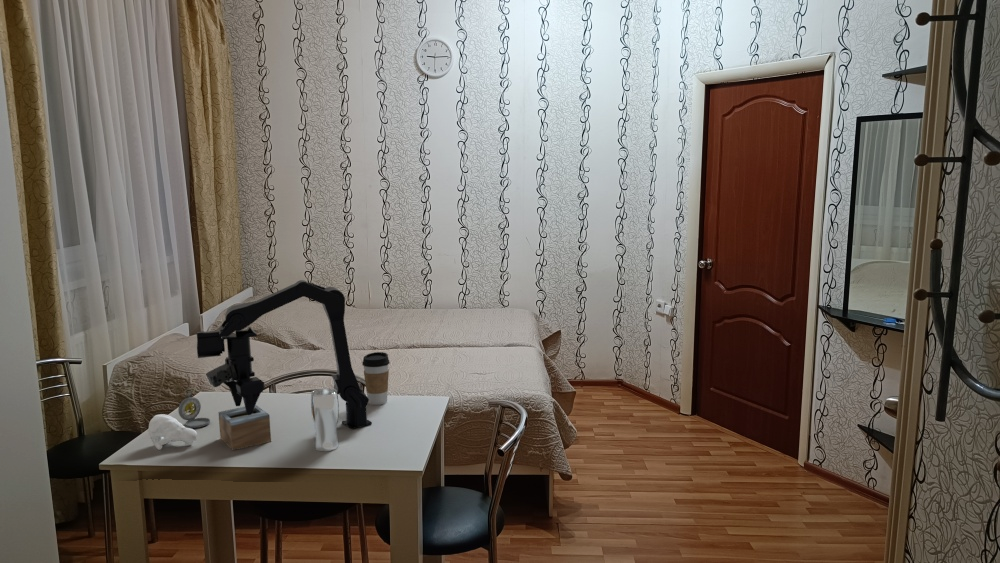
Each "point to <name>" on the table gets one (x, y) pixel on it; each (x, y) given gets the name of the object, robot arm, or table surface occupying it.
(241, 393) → the robot arm
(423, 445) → the table surface
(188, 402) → the pocket watch
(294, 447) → the table surface
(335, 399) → the beer glass
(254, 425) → the box
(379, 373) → the coffee cup
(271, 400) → the table surface
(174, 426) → the white animal skull
